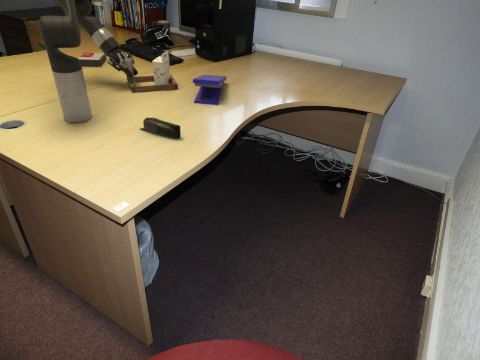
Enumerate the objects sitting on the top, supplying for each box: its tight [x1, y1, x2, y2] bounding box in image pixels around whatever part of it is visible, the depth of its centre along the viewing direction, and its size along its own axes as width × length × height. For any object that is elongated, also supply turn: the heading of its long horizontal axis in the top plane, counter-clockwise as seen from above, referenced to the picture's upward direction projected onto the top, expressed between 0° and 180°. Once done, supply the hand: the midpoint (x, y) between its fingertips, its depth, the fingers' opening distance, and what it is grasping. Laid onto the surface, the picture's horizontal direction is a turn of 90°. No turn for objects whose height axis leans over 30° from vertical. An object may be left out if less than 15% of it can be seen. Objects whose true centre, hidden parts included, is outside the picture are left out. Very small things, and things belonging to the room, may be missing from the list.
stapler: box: [192, 74, 227, 106], centre depth 147 cm, size 12×28×10 cm, turn 177°
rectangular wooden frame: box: [124, 57, 179, 93], centre depth 148 cm, size 14×21×12 cm
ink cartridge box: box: [151, 50, 171, 85], centre depth 149 cm, size 9×5×15 cm, turn 172°
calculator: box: [77, 52, 107, 68], centre depth 173 cm, size 11×4×15 cm
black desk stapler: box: [139, 116, 182, 140], centre depth 113 cm, size 5×3×15 cm
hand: (134, 75), depth 145 cm, fingers closed on rectangular wooden frame, 3 cm apart
